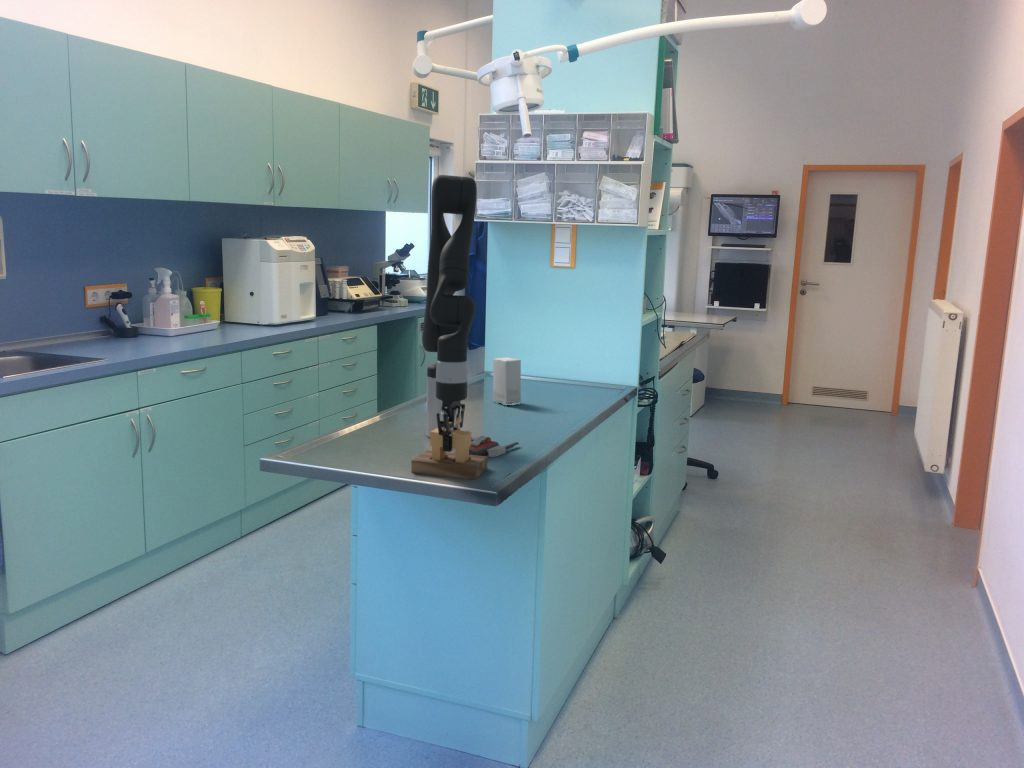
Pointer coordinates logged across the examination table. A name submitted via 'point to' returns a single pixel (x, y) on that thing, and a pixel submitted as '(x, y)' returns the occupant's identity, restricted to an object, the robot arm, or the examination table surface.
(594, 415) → the examination table surface
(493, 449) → the red grey pronged tool
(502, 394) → the skincare box
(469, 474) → the wooden socket block
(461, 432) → the tan arch block
